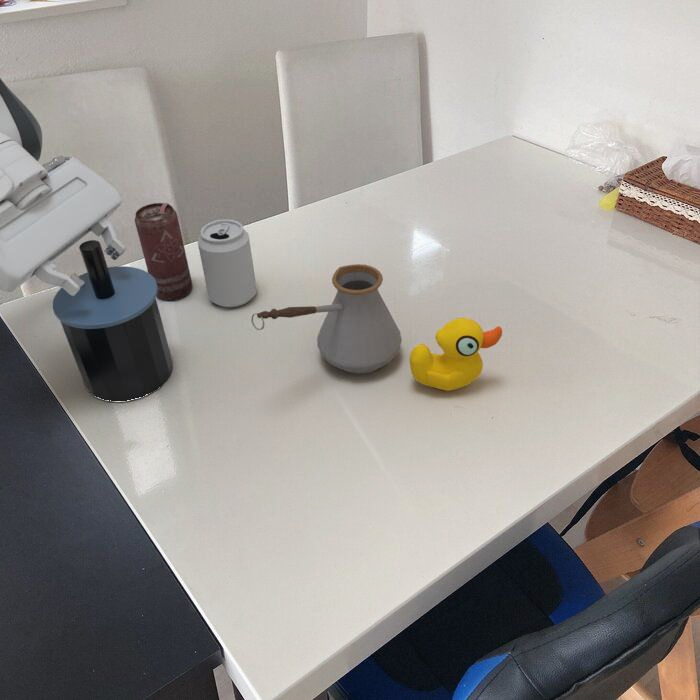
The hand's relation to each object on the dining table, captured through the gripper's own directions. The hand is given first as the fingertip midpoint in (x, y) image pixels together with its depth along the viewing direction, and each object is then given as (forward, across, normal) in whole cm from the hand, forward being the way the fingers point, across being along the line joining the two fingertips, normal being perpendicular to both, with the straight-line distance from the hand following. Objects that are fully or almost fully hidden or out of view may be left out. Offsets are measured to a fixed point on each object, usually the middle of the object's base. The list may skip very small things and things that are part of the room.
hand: (101, 272), depth 82 cm
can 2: (+15, -20, -9) cm, 27 cm away
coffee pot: (+30, -9, +6) cm, 32 cm away
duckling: (+41, -12, +17) cm, 46 cm away
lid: (+2, 0, -3) cm, 4 cm away
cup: (+11, 0, -12) cm, 16 cm away
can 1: (+8, -19, -16) cm, 26 cm away
